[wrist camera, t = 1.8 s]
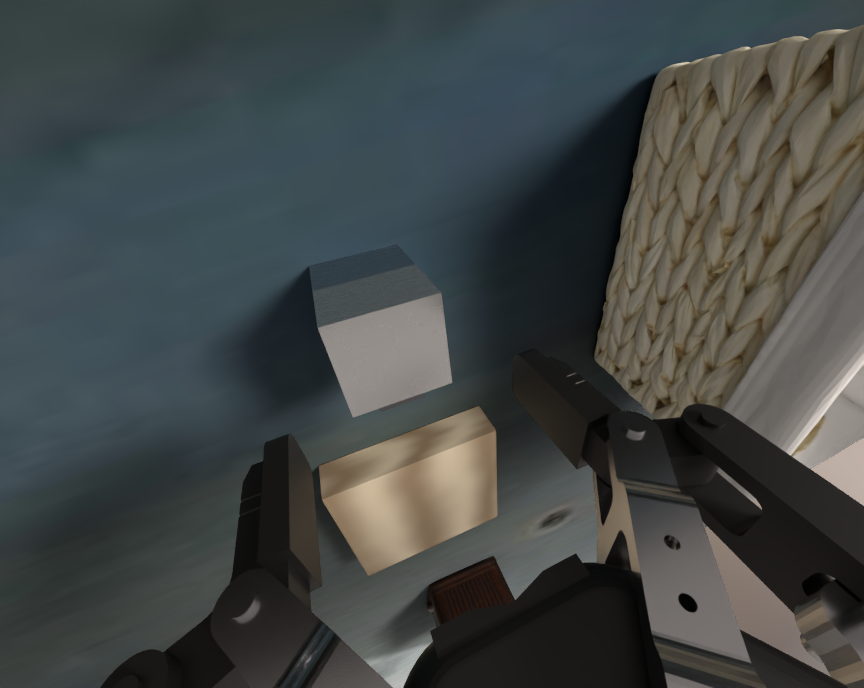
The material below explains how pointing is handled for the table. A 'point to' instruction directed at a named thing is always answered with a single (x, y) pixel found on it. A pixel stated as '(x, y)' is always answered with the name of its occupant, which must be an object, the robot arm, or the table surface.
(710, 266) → the storage basket
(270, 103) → the table surface
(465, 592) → the wooden coffee grinder
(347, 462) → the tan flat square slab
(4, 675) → the table surface
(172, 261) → the table surface
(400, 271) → the gray block
